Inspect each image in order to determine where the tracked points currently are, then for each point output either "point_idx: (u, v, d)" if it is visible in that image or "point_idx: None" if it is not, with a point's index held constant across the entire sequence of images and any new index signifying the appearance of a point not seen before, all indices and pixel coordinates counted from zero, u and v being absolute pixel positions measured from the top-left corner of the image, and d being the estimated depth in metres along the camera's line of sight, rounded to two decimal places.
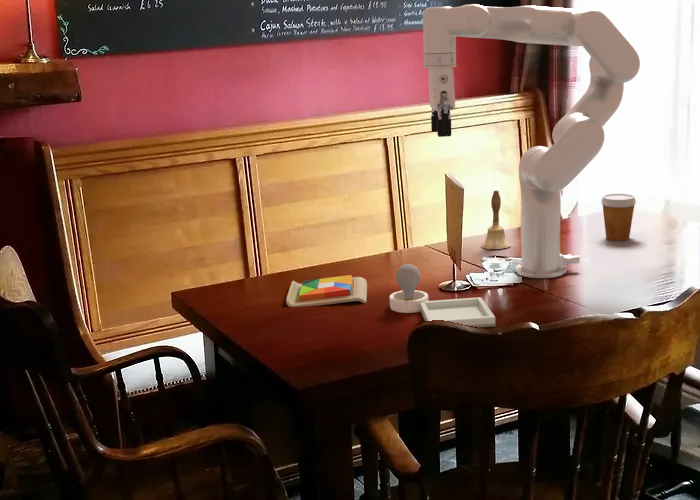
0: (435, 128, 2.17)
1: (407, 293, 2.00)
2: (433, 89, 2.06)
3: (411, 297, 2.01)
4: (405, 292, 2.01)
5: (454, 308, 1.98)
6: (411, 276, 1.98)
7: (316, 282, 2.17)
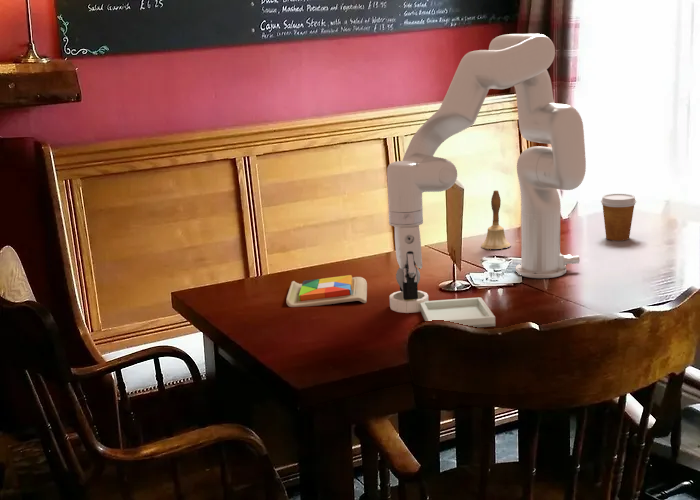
0: None
1: None
2: (399, 248, 1.95)
3: None
4: None
5: (454, 308, 1.98)
6: None
7: (315, 283, 2.17)
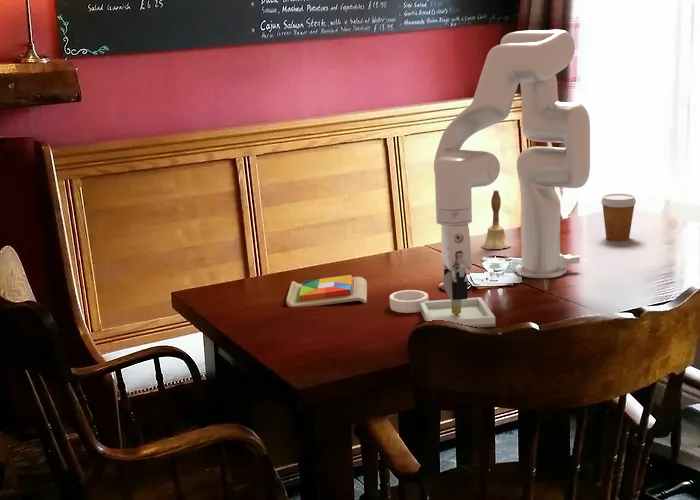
0: None
1: (455, 300, 1.91)
2: (447, 248, 1.85)
3: (459, 305, 1.92)
4: None
5: None
6: None
7: (315, 283, 2.17)
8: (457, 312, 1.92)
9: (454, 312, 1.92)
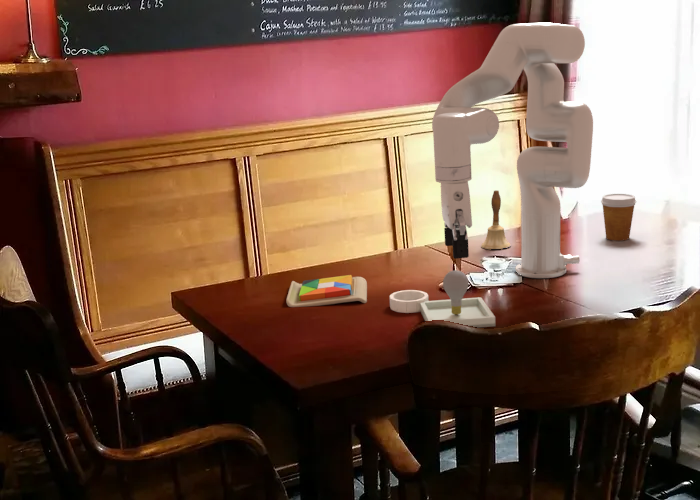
0: (449, 242, 1.94)
1: (455, 301, 1.91)
2: (447, 206, 1.83)
3: (459, 305, 1.92)
4: (453, 300, 1.91)
5: None
6: (460, 283, 1.89)
7: (315, 283, 2.17)
8: (457, 312, 1.92)
9: (454, 312, 1.92)
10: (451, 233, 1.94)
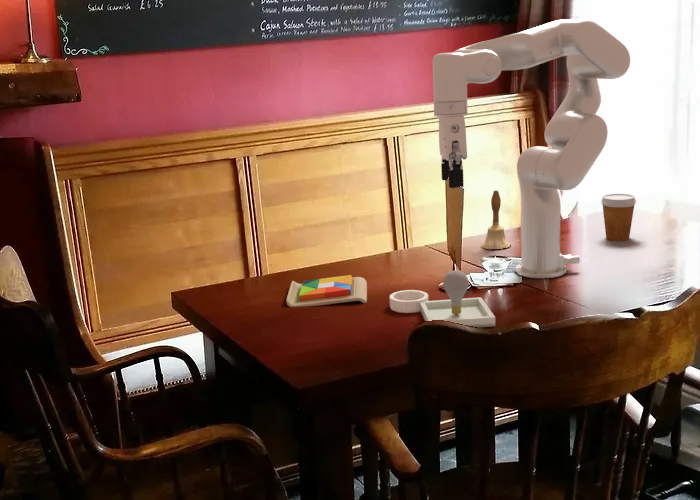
0: (445, 177, 2.08)
1: (455, 301, 1.91)
2: (444, 138, 1.98)
3: (459, 305, 1.92)
4: (453, 300, 1.91)
5: None
6: (460, 283, 1.89)
7: (315, 283, 2.17)
8: (457, 312, 1.92)
9: (454, 312, 1.92)
10: (447, 168, 2.08)
